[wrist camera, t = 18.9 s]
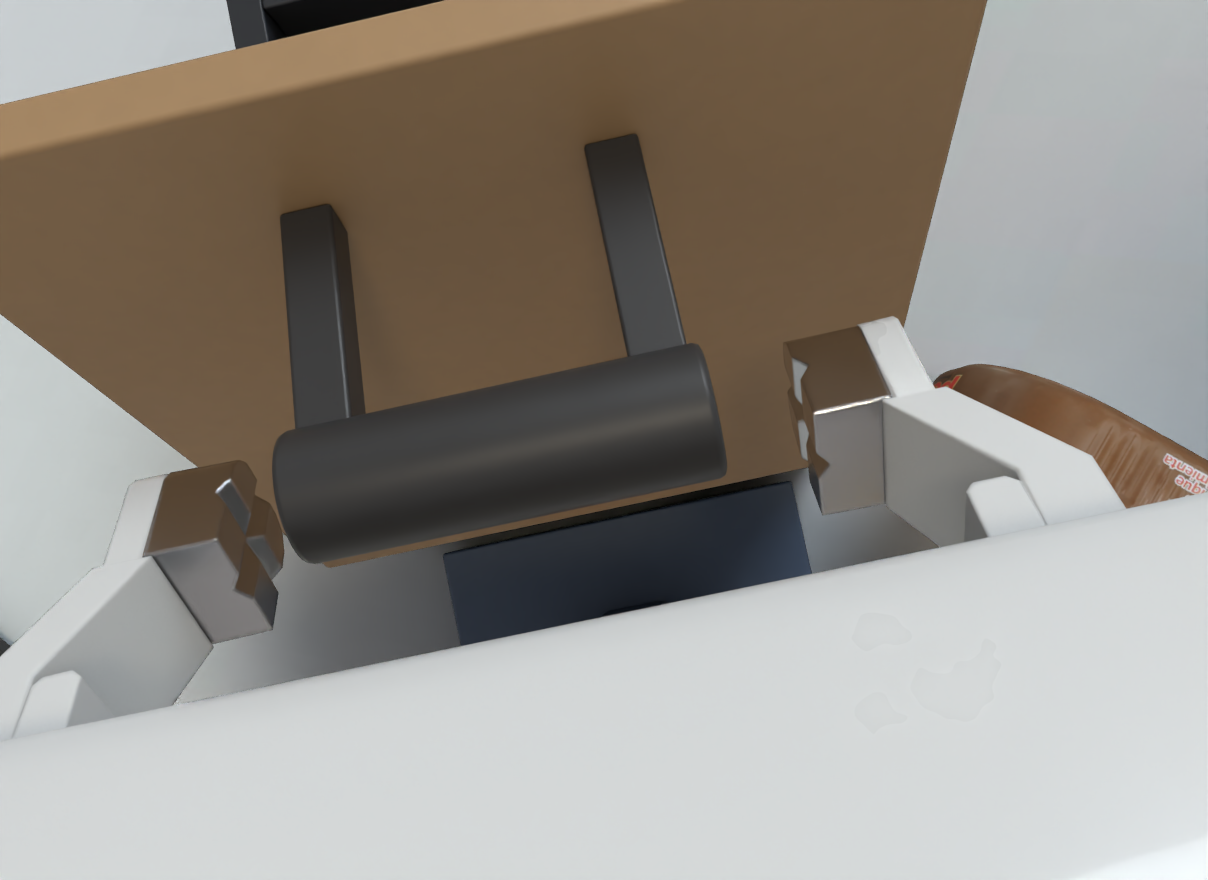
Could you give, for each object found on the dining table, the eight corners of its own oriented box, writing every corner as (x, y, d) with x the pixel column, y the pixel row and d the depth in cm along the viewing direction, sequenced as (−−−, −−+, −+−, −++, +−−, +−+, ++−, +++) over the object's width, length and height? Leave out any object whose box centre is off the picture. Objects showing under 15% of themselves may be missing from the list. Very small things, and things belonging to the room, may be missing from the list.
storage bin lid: (-155, 137, 13) (-206, 581, 11) (987, -131, 12) (1169, 286, 10) (324, 538, 27) (343, 763, 25) (863, 424, 27) (928, 645, 25)
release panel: (458, 550, 37) (429, 556, 33) (782, 481, 37) (798, 479, 32) (513, 827, 37) (491, 872, 32) (844, 761, 36) (869, 798, 32)
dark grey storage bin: (337, 116, 39) (222, -17, 29) (717, 28, 38) (733, -139, 28) (421, 539, 38) (332, 553, 28) (813, 456, 37) (864, 440, 27)
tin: (869, 448, 37) (928, 433, 28) (919, 366, 37) (992, 327, 28) (1282, 694, 36) (1471, 754, 27) (1333, 609, 36) (1536, 642, 27)
